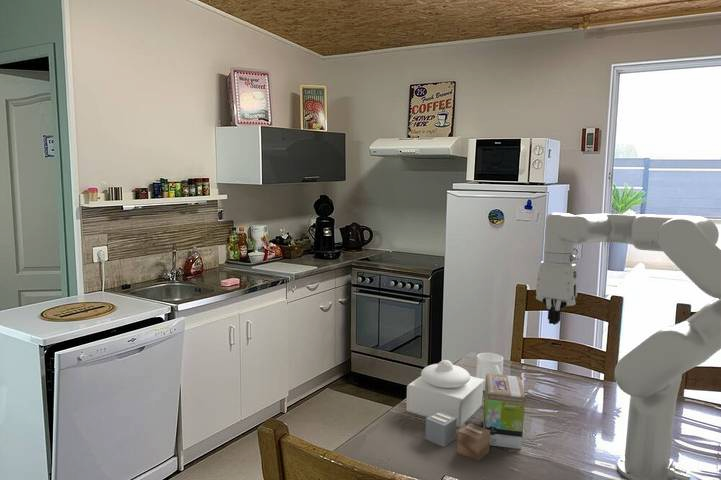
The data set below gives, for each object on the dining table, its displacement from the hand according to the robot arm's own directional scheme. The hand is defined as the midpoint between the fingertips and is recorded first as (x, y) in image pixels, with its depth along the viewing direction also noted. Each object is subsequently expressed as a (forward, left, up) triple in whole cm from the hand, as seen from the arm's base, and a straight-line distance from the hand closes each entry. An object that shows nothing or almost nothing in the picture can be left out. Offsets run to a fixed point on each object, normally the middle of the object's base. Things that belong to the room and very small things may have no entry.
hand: (553, 323), depth 147 cm
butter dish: (+28, +9, -32) cm, 43 cm away
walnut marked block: (+9, +26, -31) cm, 42 cm away
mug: (+25, -14, -31) cm, 42 cm away
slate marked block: (+19, +26, -31) cm, 45 cm away
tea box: (+8, +12, -31) cm, 35 cm away
